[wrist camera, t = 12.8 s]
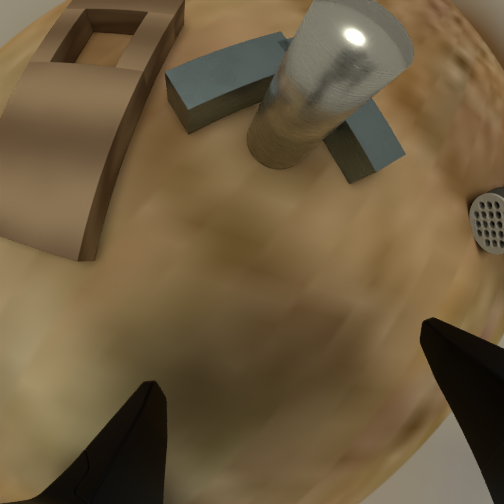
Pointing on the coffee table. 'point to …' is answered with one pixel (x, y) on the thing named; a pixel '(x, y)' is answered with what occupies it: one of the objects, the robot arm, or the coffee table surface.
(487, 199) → the flashlight
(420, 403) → the coffee table surface
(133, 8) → the slotted block
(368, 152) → the v block
